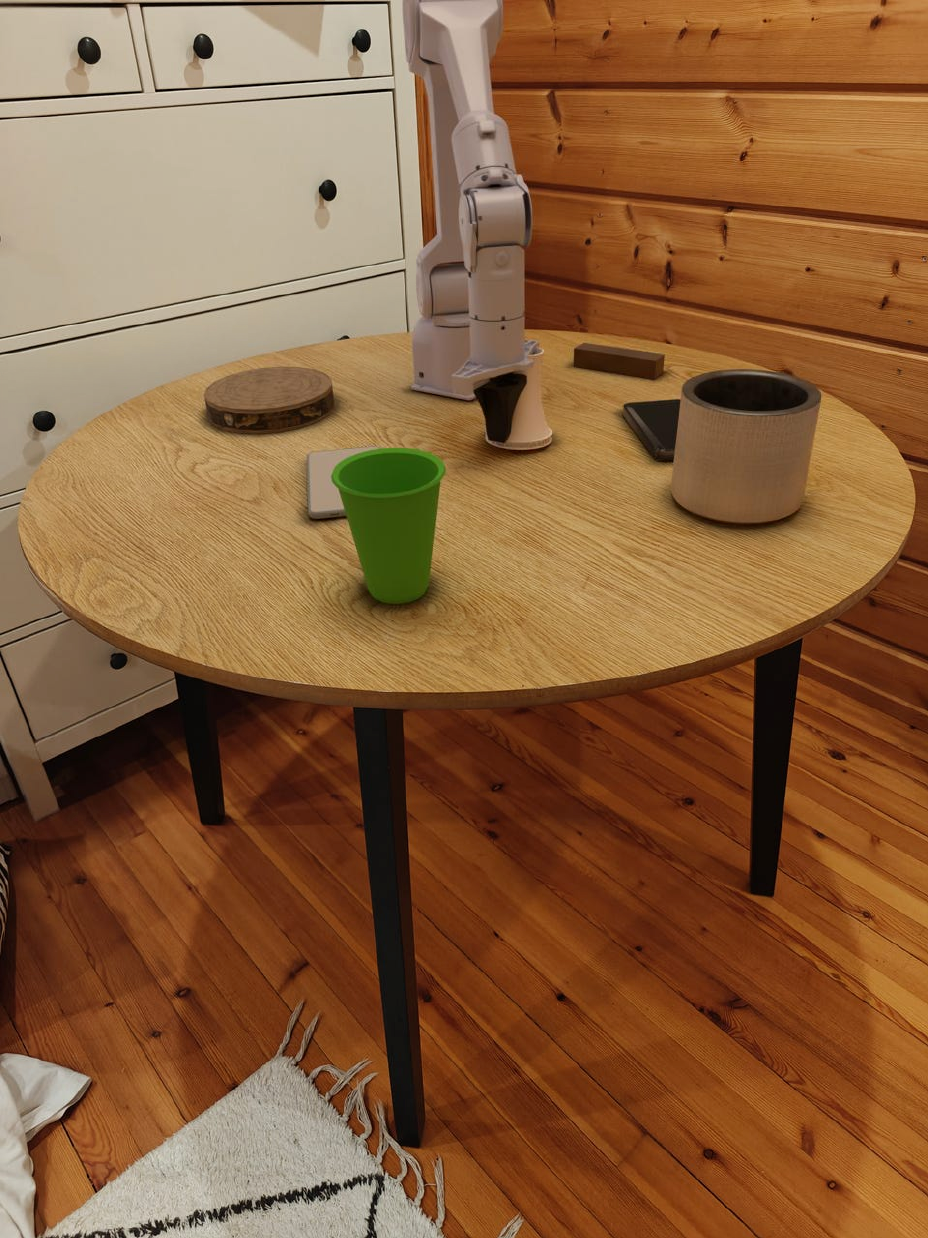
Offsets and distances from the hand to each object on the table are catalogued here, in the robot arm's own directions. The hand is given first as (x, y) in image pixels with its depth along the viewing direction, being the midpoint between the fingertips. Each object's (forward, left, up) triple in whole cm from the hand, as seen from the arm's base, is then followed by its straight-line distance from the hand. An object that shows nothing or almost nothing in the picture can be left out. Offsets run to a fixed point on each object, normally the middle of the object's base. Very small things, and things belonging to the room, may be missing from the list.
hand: (499, 440), depth 100 cm
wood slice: (-32, -2, -2) cm, 32 cm away
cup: (+8, -29, -2) cm, 30 cm away
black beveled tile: (+15, +14, -1) cm, 20 cm away
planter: (+27, +1, -2) cm, 27 cm away
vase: (0, +3, -1) cm, 4 cm away
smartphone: (-9, -15, -1) cm, 18 cm away
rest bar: (0, +32, -1) cm, 32 cm away
